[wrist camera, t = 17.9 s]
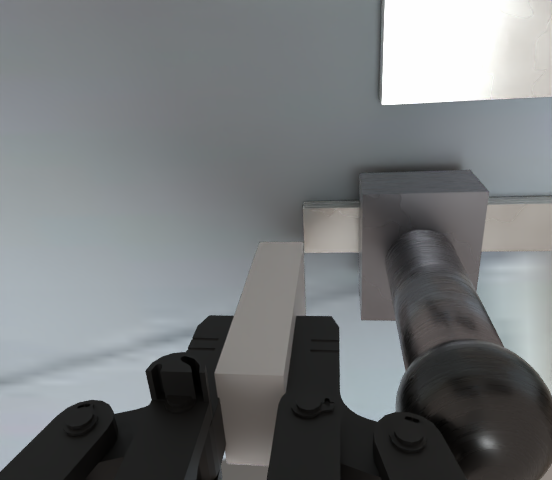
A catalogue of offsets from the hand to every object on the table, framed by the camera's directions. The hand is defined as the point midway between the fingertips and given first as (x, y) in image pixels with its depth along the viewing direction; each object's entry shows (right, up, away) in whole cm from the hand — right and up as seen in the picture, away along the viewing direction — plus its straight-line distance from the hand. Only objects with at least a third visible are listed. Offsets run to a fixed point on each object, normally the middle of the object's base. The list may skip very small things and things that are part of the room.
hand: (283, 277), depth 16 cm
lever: (+5, +2, +2) cm, 6 cm away
